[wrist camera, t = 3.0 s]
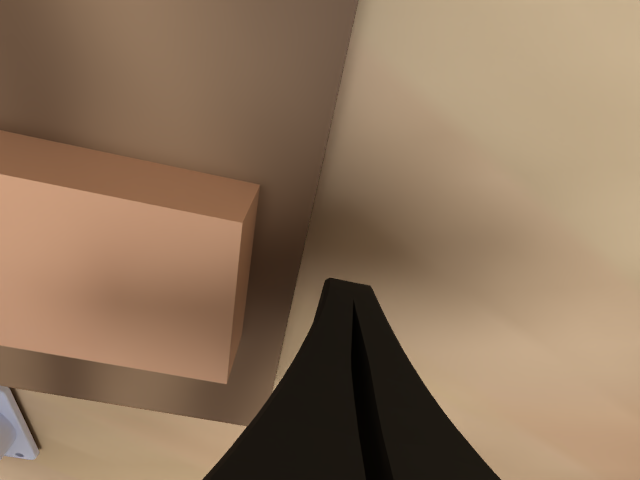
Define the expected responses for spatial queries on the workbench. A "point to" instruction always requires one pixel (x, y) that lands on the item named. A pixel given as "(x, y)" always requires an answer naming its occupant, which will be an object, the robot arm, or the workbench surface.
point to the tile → (122, 259)
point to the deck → (185, 148)
